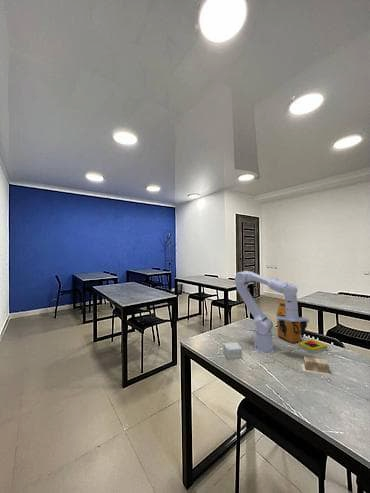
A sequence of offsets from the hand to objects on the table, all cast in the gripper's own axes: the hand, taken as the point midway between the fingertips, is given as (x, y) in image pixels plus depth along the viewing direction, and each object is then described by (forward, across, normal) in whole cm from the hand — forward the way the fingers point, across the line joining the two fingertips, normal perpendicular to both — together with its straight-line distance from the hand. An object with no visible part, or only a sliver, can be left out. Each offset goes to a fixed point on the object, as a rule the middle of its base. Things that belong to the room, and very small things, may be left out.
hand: (293, 336), depth 107 cm
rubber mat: (+11, +3, -10) cm, 15 cm away
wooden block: (+8, +3, -10) cm, 13 cm away
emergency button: (+11, +10, +12) cm, 19 cm away
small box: (+10, -30, -8) cm, 32 cm away
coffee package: (+10, -1, +22) cm, 25 cm away
